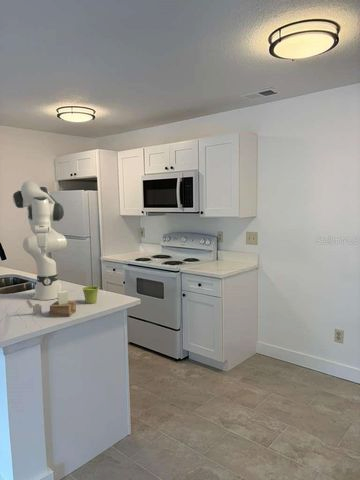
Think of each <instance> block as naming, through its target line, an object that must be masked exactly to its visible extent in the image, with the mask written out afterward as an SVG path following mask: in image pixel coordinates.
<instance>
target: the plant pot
mask: <svg viewBox="0 0 360 480" xmlns="http://www.w3.org/2000/svg"><path fill="white" fill-rule="evenodd" d="M99 289H100V287H99V286H95V285H94V286H93V285H92V286H91V285H90V286H84V287H82V288H81V290H82V292H83V295H84V300H85V303H86V304H88V305H89V304H96V303H97V300H98V292H99Z"/></svg>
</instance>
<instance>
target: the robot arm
mask: <svg viewBox="0 0 360 480" xmlns="http://www.w3.org/2000/svg"><path fill="white" fill-rule="evenodd" d="M21 184H22V185H21V189H20V190H17V191H16V192H14V193H13V195H12V202H13V204H14V206H16V208H18V209H24V208H27V220H28V223H29V227H30V230H31V232H32V233H33V234H34V235H29V236H26V237H24V239H23V241H22V249H23V250H24V252H26V253H27V254H29V255H30V256H31V257H32V258H33V259H34V261H35V264H36V270H37V271H36V272H37V273H36V274H37V275H36V284H35V285H34V295H32V296H31V299H32V300H38V301H40V300H41V301H50V300H54V299H58V293H57V291H62V286H61V282H60V281H58V278H59V276H58V273H57V271H58V270H57V261H55V260H54V259H52V258H51V257H48V256H47V254H46V253H55V252H60V251H64V250H65V249H66V247H67V245H68V239H67V238H66V236H65V235H64V234H63V233H59V232H57V231H56V230H55V229H53V228H52V224H51V223H52V222H59V221H61V220H62V219H63V217H64V216H65V214H64V213H65V212H64V211H65V210H64V207H63V206H62V204H60V203H59V202H58V201H57V200H56V199H55V198H53V196H52V195H51V194H50V191H49V190H48V189H47V187H46V186H39V185H38V184H37V182H34V181H32V180H27V181H25V182H23V183H21ZM51 221H52V222H51Z"/></svg>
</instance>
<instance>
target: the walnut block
mask: <svg viewBox="0 0 360 480" xmlns="http://www.w3.org/2000/svg"><path fill="white" fill-rule="evenodd" d="M76 312H77V301H76V300H68V304H61V305H59V303H58V300H56V301H55V302H53V303H52V304H50V305H49V316H50V317H49V318H70V317H72V315H74V314H75V313H76Z"/></svg>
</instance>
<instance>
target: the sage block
mask: <svg viewBox="0 0 360 480" xmlns="http://www.w3.org/2000/svg"><path fill="white" fill-rule="evenodd" d="M57 293H58V298H57V301H58V303H59V305H61V304H68V301H69V296H68V291H67V290H66V289H64V290H61V291H57Z"/></svg>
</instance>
